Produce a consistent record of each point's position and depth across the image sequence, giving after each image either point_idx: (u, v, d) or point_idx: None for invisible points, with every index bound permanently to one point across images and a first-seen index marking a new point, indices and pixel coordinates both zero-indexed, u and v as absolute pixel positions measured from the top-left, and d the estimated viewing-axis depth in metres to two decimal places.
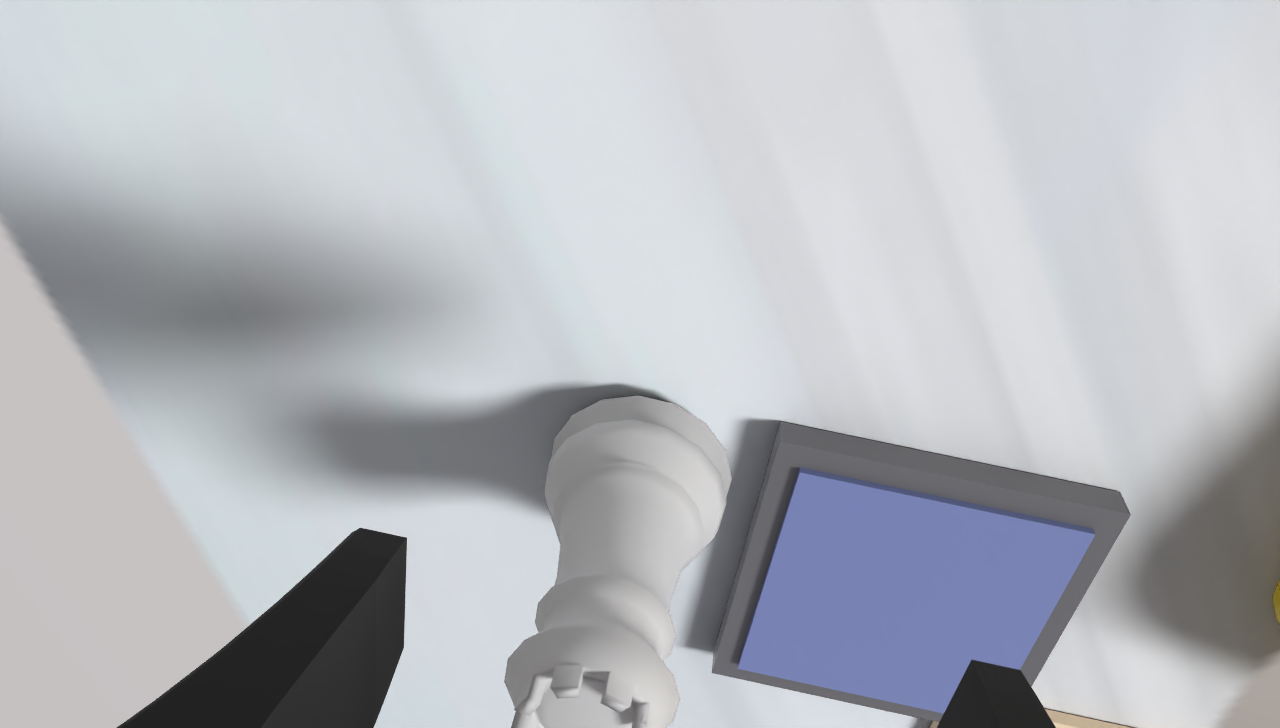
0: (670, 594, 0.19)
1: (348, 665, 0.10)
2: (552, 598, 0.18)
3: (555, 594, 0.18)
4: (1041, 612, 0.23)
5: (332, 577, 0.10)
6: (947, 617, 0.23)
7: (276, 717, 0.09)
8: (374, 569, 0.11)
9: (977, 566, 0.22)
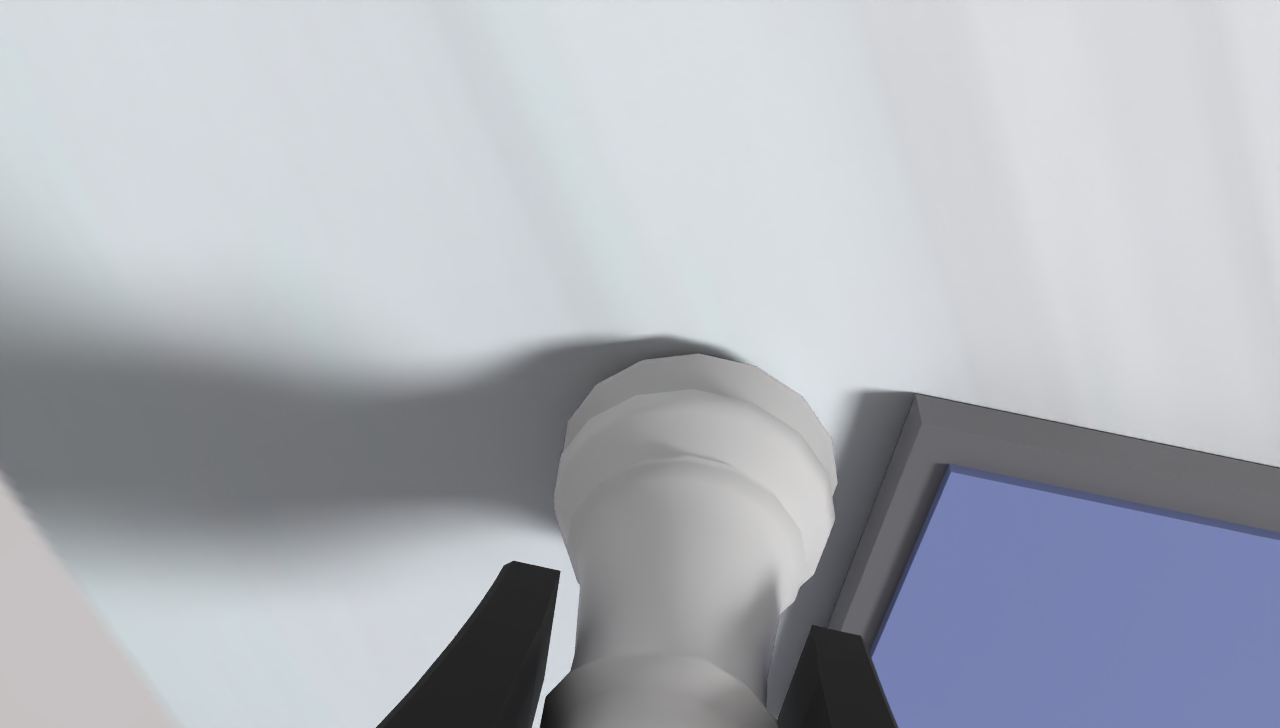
0: (765, 676, 0.11)
1: (519, 703, 0.10)
2: (570, 691, 0.10)
3: (575, 685, 0.10)
4: None
5: (502, 614, 0.10)
6: (1156, 689, 0.15)
7: None
8: (539, 605, 0.11)
9: (1215, 615, 0.14)
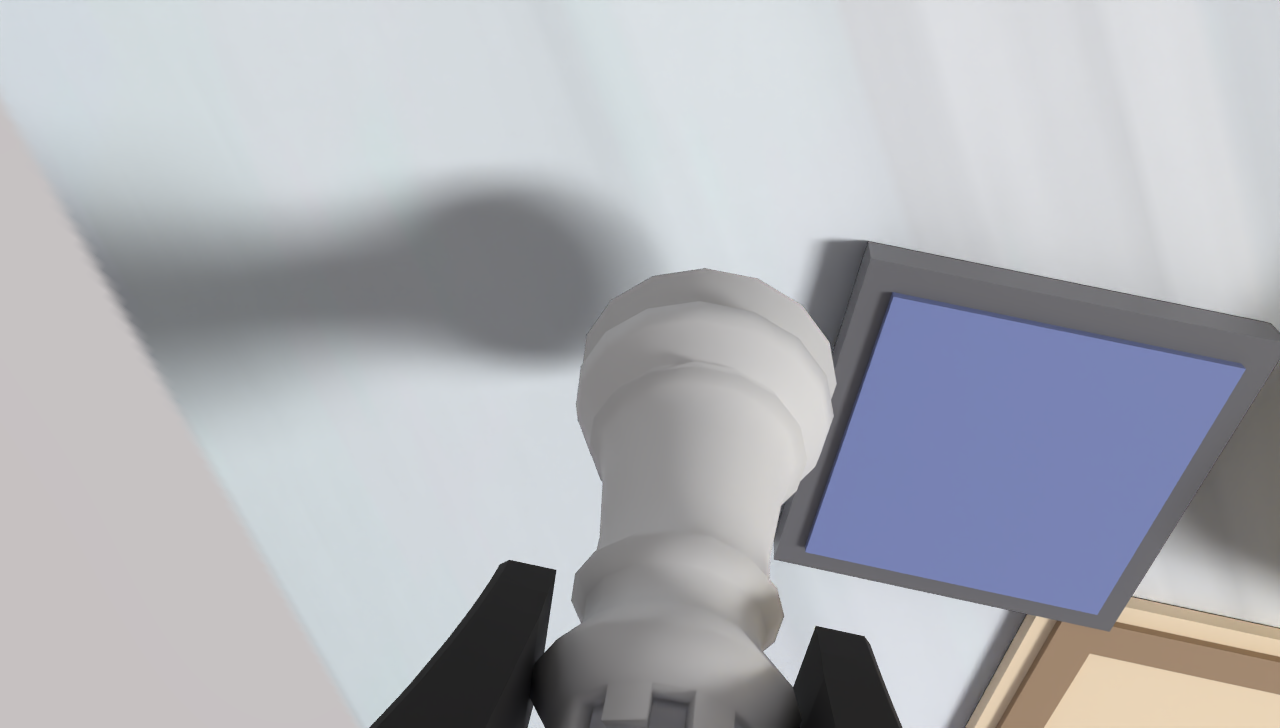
0: (769, 553, 0.13)
1: (514, 702, 0.10)
2: (596, 567, 0.12)
3: (600, 562, 0.12)
4: (1170, 472, 0.19)
5: (497, 613, 0.10)
6: (1058, 481, 0.20)
7: None
8: (534, 604, 0.11)
9: (1099, 414, 0.19)
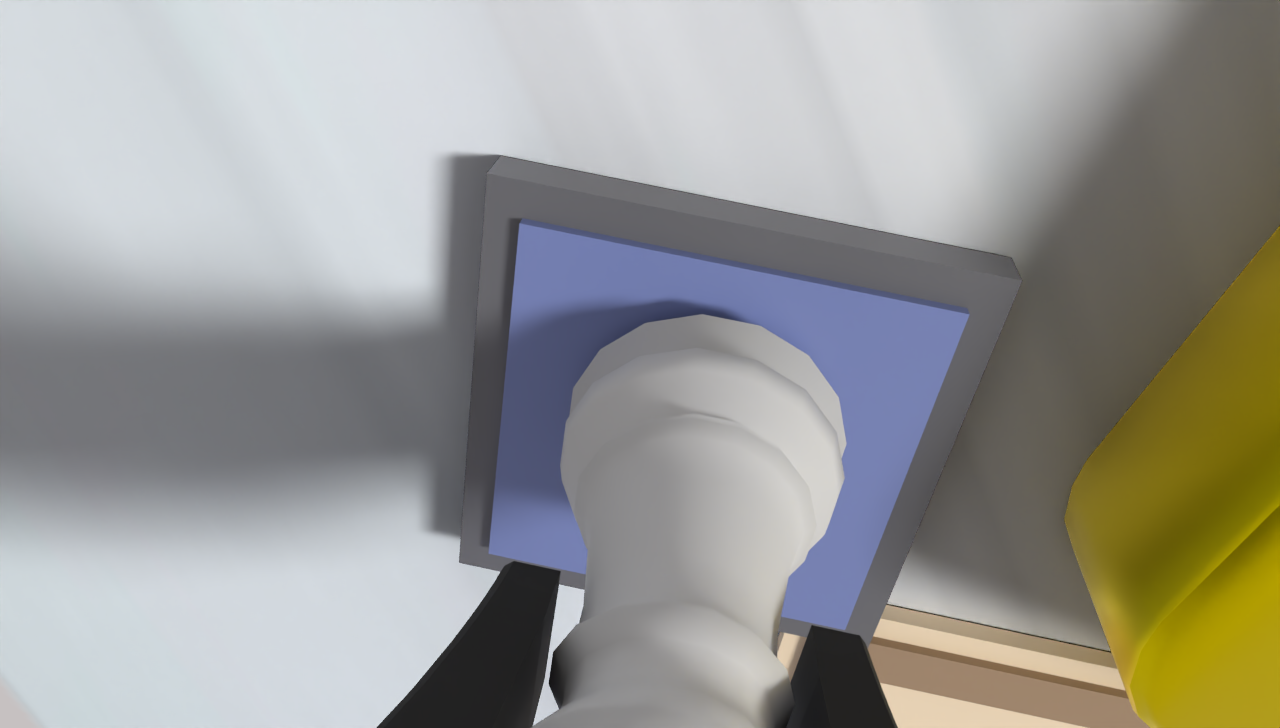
0: (776, 629, 0.11)
1: (520, 703, 0.10)
2: (577, 644, 0.10)
3: (582, 637, 0.10)
4: (901, 451, 0.15)
5: (502, 614, 0.10)
6: None
7: None
8: (539, 605, 0.11)
9: None
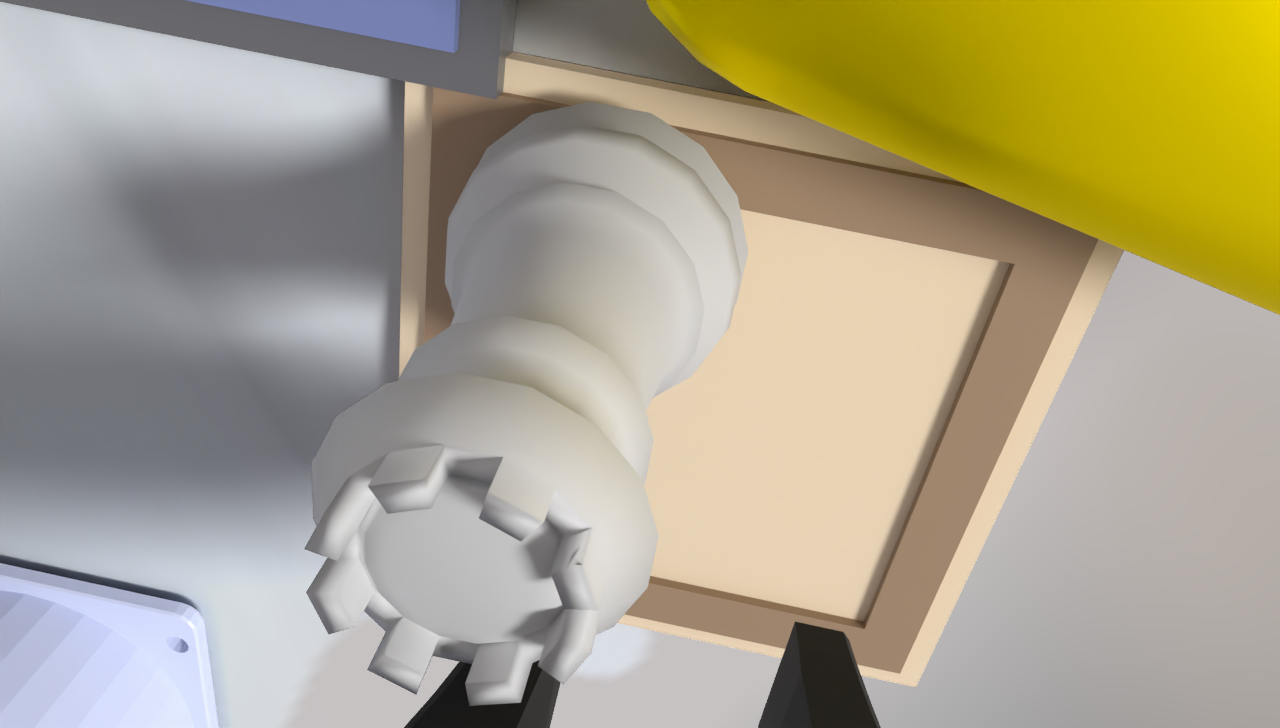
0: (644, 382, 0.11)
1: (539, 707, 0.10)
2: (415, 369, 0.10)
3: (420, 360, 0.09)
4: None
5: None
6: None
7: None
8: None
9: None
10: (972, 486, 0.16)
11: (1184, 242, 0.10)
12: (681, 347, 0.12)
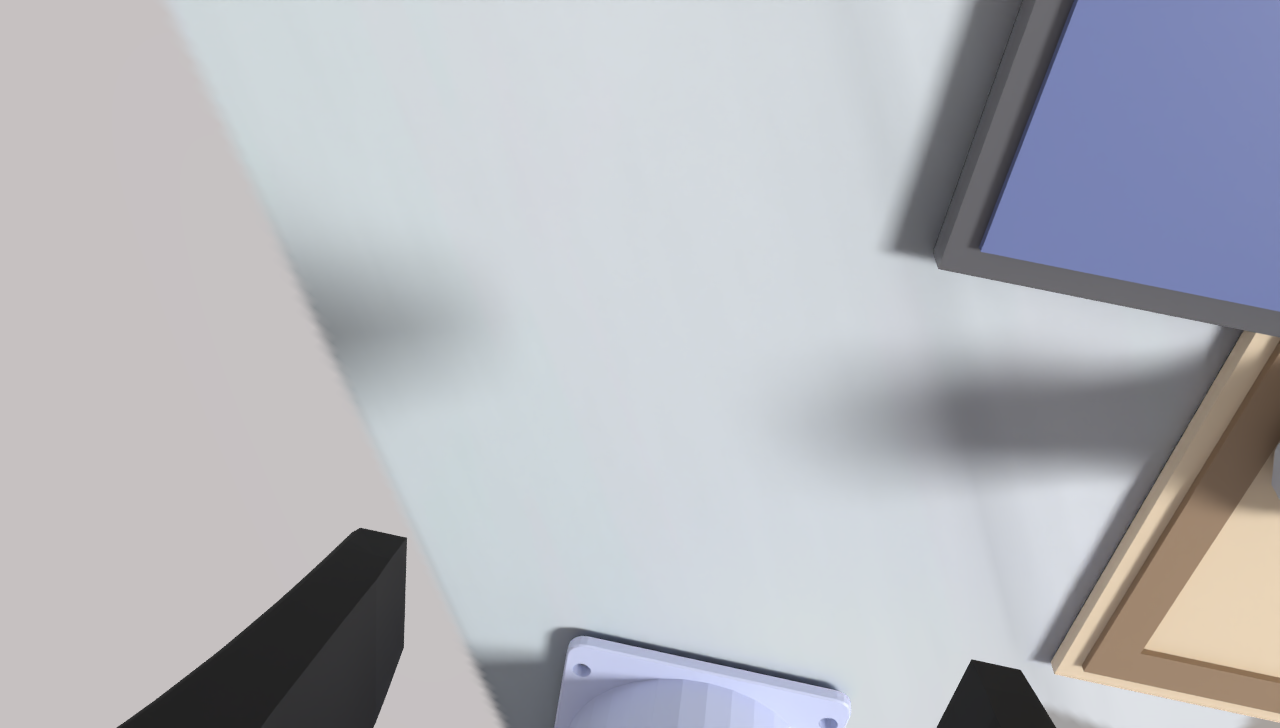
0: None
1: (348, 665, 0.10)
2: None
3: None
4: None
5: (332, 577, 0.10)
6: None
7: (276, 717, 0.09)
8: (374, 569, 0.11)
9: None
10: None
11: None
12: None
